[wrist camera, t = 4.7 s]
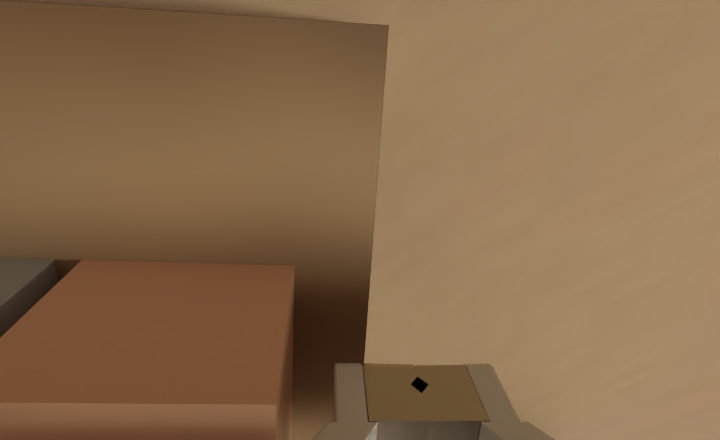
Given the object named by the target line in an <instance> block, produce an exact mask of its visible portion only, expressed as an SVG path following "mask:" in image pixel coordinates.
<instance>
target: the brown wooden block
mask: <svg viewBox="0 0 720 440" xmlns="http://www.w3.org/2000/svg"><path fill="white" fill-rule="evenodd" d="M388 29H389V25H378V24H362V23H347V22H331V21H316V20H300V19H285V18H269V17H254V16H238V15H223V14H208V13H192V12H177V11H161V10H146V9H130V8H115V7H99V6H84V5H68V4H53V3H38V2H22V1H7V0H0V257H3V258H38V259H55V265H56V272H57V278H58V282H59V281H60V280H61V279H62V278H63V277H64V276H66V275H67V274H68V273H69V272H70V271H71V270H72V269H73V268H74V267H75V266H76V265H77V264H78V263H79V262H80V261H81V260H109V261H145V262H180V263H215V264H251V265H286V266H294V319H293V373H292V428H291V440H312V439H313V438H314V437H315V436H316V435H317V434H318V433H319V431H320V430H321V429H322V428H323V427H324V426H325V425H326V424H327V423H328V422H332V402H333V380H334V366H335V363H360V364H361V365H362V363H364V353H365V340H366V326H367V313H368V299H369V286H370V272H371V259H372V245H373V232H374V218H375V205H376V191H377V178H378V164H379V151H380V137H381V124H382V110H383V97H384V83H385V70H386V56H387V43H388Z"/></svg>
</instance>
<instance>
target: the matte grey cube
mask: <svg viewBox="0 0 720 440" xmlns="http://www.w3.org/2000/svg"><path fill="white" fill-rule="evenodd" d="M57 283H58V278H57V272H56V265H55V259H38V258H3V257H0V338H1V337H2V336H3V335H4V334H5V333H6V332H7V331H8V330H9V329H10V328H11V327H12V326H13V325H14V324H15V323H16V322H17V321H18V320H19V319H20V318H22V317H23V316H24V315H25V314H26V313H27V312H28V311H29V310H30V309H31V308H32V307H33V306H34V305H35V304H36V303H37V302H38V301H39V300H40V299H41V298H42V297H44V296H45V295H46V294H47V293H48V292H49V291H50V290H51V289H52V288H53V287H54V286H55V285H56V284H57Z"/></svg>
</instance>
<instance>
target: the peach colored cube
mask: <svg viewBox="0 0 720 440" xmlns="http://www.w3.org/2000/svg"><path fill="white" fill-rule="evenodd" d="M293 319H294V266H286V265H251V264H215V263H180V262H145V261H109V260H81V261H80V262H79V263H78V264H77V265H76V266H75V267H74V268H73V269H72V270H71V271H70V272H69V273H68V274H67V275H66V276H64V277H63V278H62V279H61V280H60V281H59V282H58V283H57V284H56V285H55V286H54V287H53V288H52V289H51V290H50V291H49V292H48V293H47V294H46V295H45V296H44V297H42V298H41V299H40V300H39V301H38V302H37V303H36V304H35V305H34V306H33V307H32V308H31V309H30V310H29V311H28V312H27V313H26V314H25V315H24V316H23V317H22V318H20V319H19V320H18V321H17V322H16V323H15V324H14V325H13V326H12V327H11V328H10V329H9V330H8V331H7V332H6V333H5V334H4V335H3V336H2V337H1V338H0V440H291V428H292V373H293Z"/></svg>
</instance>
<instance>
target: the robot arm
mask: <svg viewBox="0 0 720 440" xmlns="http://www.w3.org/2000/svg"><path fill="white" fill-rule="evenodd" d="M312 440H554V439H553V438H551V437H550V436H548V435H547V434H545V433H544V432H542V431H541V430H539V429H538V428H536V427H535V426H533V425H532V424H530V423H529V422H520V420H519V418H518V416H517V414H516V412H515V410H514V408H513V406H512V404H511V402H510V400H509V398H508V396H507V394H506V392H505V390H504V388H503V386H502V384H501V382H500V380H499V378H498V376H497V374H496V373H495V371H494V369H493V367H492V366H491V365H490V364H463V365H405V364H371V363H362V365H361V364H360V363H335V366H334V380H333V402H332V422H328V423H327V424H326V425H325V426H324V427H323V428H322V429H321V430H320V431H319V433H318V434H317V435H316V436H315V437H314V438H313V439H312Z"/></svg>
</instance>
